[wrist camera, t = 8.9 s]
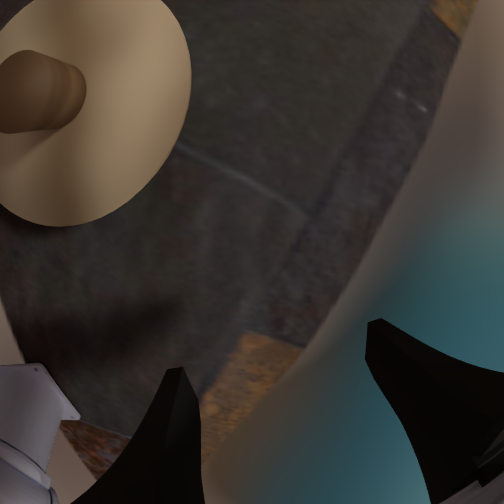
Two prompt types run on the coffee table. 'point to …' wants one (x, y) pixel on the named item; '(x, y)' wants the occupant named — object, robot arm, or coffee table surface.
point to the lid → (88, 105)
